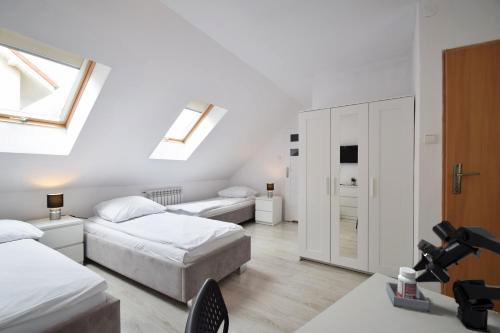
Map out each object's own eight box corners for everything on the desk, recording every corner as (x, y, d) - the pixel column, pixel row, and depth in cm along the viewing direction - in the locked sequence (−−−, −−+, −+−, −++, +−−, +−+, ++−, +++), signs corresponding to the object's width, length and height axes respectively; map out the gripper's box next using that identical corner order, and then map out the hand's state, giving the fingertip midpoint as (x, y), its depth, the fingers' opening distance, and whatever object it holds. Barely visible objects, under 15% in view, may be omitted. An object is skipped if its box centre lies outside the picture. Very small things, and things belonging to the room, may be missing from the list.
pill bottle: (419, 300, 92) (420, 271, 92) (411, 305, 89) (413, 275, 89) (401, 292, 98) (403, 264, 97) (394, 296, 94) (395, 268, 94)
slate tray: (417, 294, 97) (417, 286, 97) (428, 312, 87) (429, 302, 86) (386, 290, 100) (386, 281, 100) (393, 306, 90) (393, 296, 90)
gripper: (429, 227, 96) (396, 249, 102) (439, 242, 80) (398, 267, 86) (454, 251, 93) (418, 272, 99) (469, 271, 77) (424, 295, 83)
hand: (414, 275), depth 92 cm, fingers open, 9 cm apart
